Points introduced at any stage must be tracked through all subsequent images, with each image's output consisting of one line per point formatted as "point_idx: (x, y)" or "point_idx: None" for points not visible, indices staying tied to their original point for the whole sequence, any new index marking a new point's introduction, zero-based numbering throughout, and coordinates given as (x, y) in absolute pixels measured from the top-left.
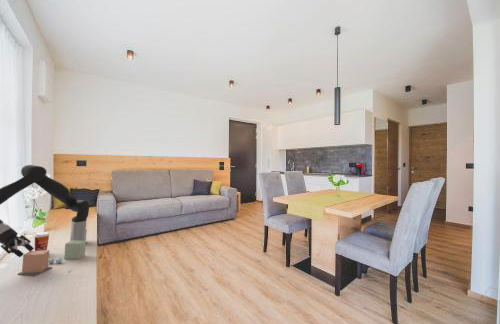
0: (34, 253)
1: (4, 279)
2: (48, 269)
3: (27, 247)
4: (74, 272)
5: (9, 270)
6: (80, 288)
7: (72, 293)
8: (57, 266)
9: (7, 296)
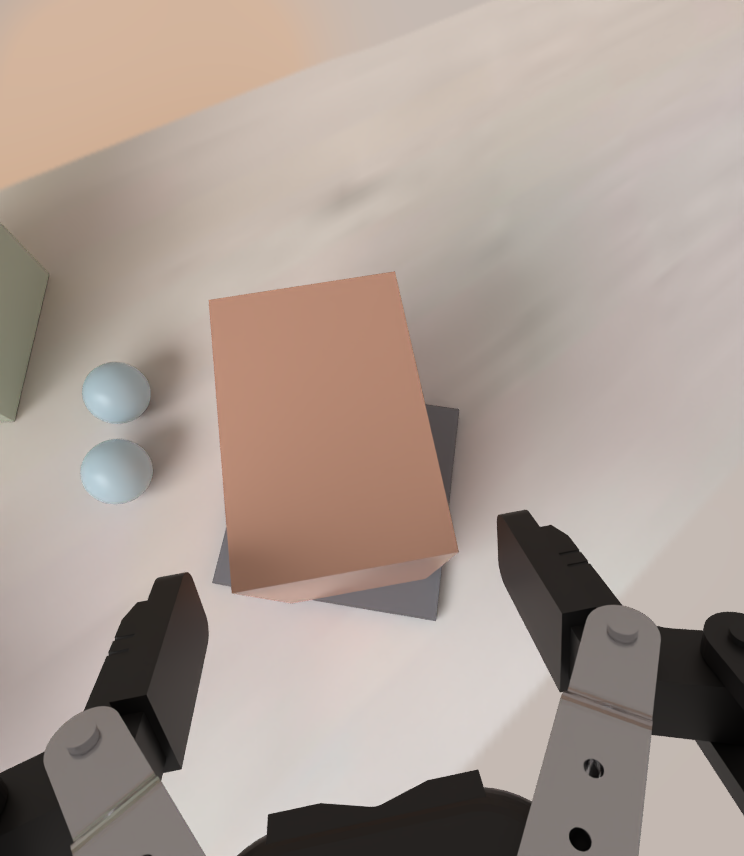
0: (371, 417)
1: None
2: None
3: (180, 697)
4: (368, 155)
5: None
6: (606, 8)
7: (671, 16)
8: None
9: None
